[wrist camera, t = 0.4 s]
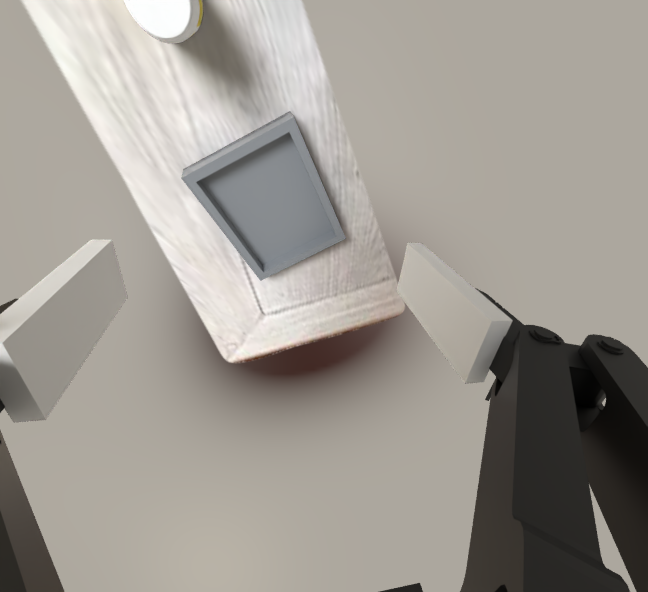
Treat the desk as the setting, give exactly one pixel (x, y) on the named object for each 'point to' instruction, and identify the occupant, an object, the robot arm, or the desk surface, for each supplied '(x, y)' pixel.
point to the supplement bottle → (167, 18)
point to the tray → (267, 197)
